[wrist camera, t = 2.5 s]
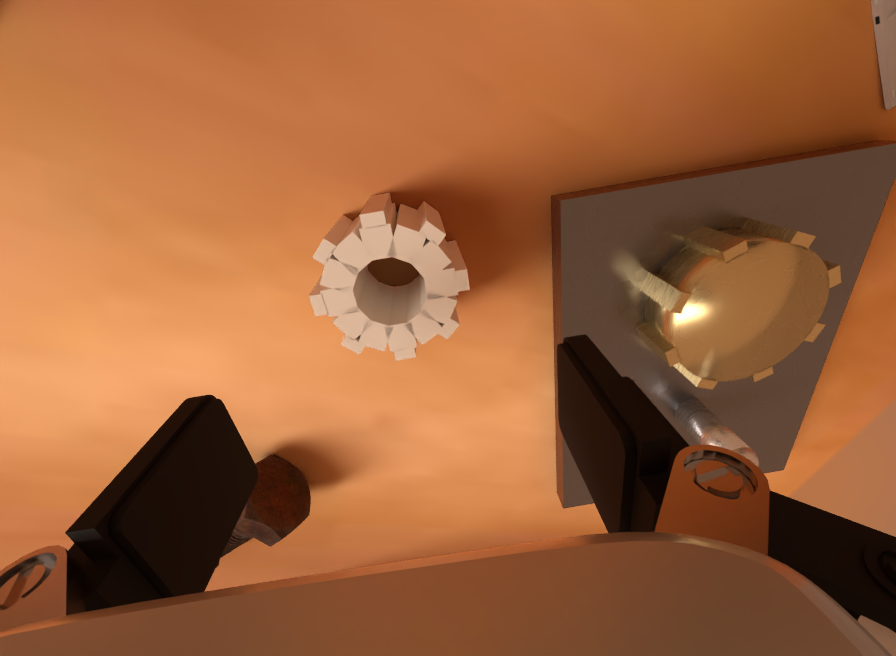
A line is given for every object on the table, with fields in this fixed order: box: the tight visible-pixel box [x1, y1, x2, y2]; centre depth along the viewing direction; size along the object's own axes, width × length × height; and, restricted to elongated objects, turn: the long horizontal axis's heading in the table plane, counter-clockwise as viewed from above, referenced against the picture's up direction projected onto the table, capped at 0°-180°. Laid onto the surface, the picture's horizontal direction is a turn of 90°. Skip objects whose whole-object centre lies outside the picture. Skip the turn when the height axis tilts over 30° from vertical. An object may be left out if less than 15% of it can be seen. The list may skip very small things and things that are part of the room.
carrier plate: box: [551, 140, 896, 508], centre depth 23 cm, size 24×18×7 cm
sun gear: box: [636, 218, 841, 390], centre depth 21 cm, size 9×9×3 cm
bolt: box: [216, 455, 311, 567], centre depth 28 cm, size 6×5×15 cm
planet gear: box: [309, 193, 470, 361], centre depth 19 cm, size 7×7×5 cm
